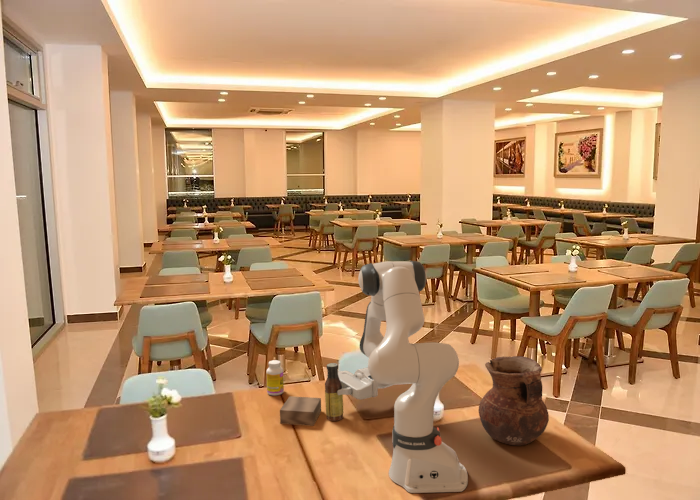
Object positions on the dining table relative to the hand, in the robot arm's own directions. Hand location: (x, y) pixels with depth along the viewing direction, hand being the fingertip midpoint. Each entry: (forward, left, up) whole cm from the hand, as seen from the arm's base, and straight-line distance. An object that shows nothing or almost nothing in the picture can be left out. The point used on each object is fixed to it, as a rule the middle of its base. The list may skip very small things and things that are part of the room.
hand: (331, 389), depth 191 cm
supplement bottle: (+27, -20, -11) cm, 35 cm away
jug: (-62, +4, -11) cm, 63 cm away
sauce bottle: (-1, -1, -11) cm, 11 cm away
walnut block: (+11, 0, -11) cm, 16 cm away
